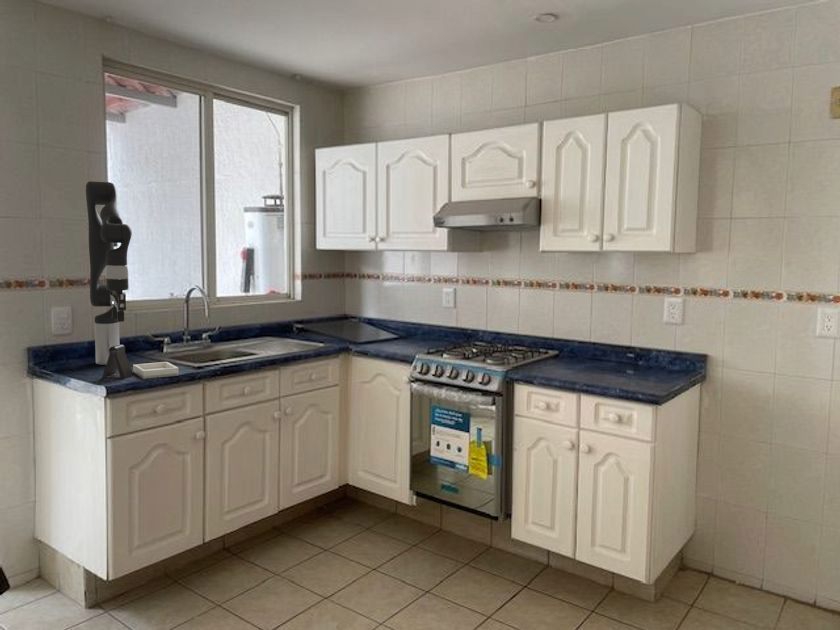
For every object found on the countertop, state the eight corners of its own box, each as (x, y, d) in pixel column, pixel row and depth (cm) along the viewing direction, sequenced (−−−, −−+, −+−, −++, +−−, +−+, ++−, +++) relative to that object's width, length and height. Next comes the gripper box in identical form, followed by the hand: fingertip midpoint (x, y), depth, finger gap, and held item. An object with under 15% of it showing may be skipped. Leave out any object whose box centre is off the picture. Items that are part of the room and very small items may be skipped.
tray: (133, 372, 253) (133, 364, 253) (167, 369, 261) (167, 361, 261) (143, 378, 242) (143, 371, 241) (178, 375, 250) (178, 367, 249)
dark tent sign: (133, 375, 247) (132, 345, 246) (124, 378, 241) (124, 347, 240) (110, 374, 248) (110, 344, 246) (102, 377, 242) (101, 346, 240)
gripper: (102, 276, 244) (103, 318, 246) (110, 278, 232) (111, 323, 234) (123, 275, 248) (124, 317, 250) (132, 278, 237) (133, 321, 239)
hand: (118, 320), depth 242 cm, fingers open, 8 cm apart
